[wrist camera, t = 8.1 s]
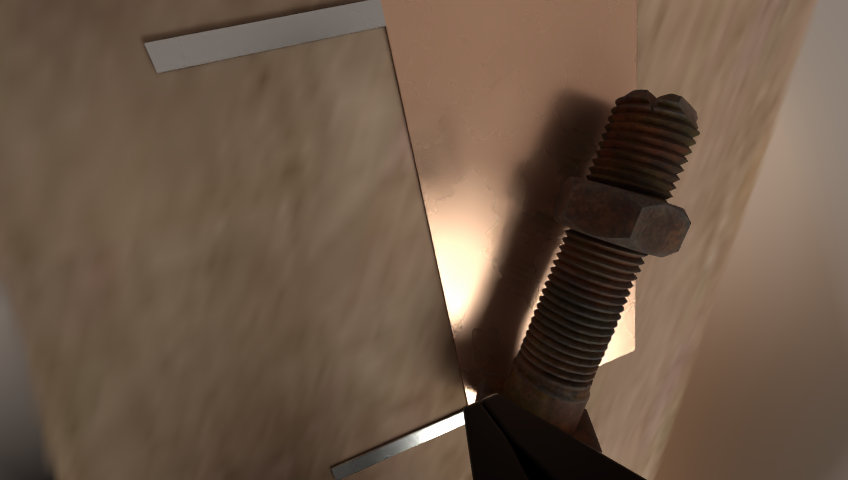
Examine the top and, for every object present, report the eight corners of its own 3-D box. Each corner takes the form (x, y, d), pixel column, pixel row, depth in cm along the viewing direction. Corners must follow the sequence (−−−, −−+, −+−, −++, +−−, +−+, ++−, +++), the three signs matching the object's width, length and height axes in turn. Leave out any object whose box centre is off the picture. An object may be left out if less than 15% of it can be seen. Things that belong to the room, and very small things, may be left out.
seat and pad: (633, 348, 23) (634, 349, 23) (336, 480, 19) (337, 482, 19) (635, -54, 15) (637, -55, 15) (143, 39, 12) (142, 39, 12)
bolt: (604, 106, 19) (498, 385, 22) (565, 69, 15) (444, 415, 18) (754, 131, 16) (605, 457, 19) (755, 92, 12) (566, 513, 15)
